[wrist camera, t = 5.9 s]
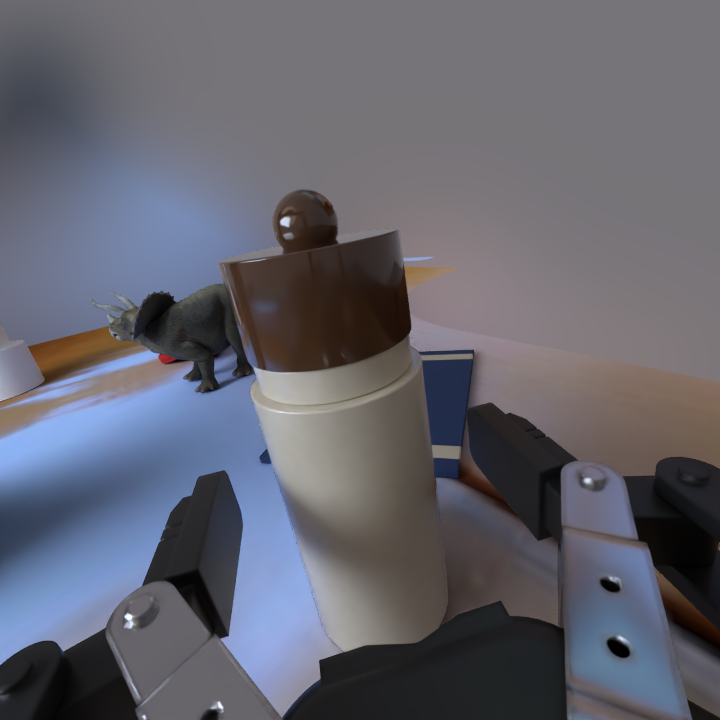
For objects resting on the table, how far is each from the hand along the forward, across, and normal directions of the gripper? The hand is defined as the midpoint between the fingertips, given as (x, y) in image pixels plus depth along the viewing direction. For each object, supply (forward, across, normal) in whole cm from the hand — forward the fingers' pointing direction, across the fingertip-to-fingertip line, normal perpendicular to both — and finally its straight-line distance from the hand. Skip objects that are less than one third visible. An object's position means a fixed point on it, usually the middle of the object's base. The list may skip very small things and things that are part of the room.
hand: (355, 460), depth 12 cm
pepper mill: (+1, 0, +7) cm, 7 cm away
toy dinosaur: (+32, +10, +7) cm, 34 cm away
